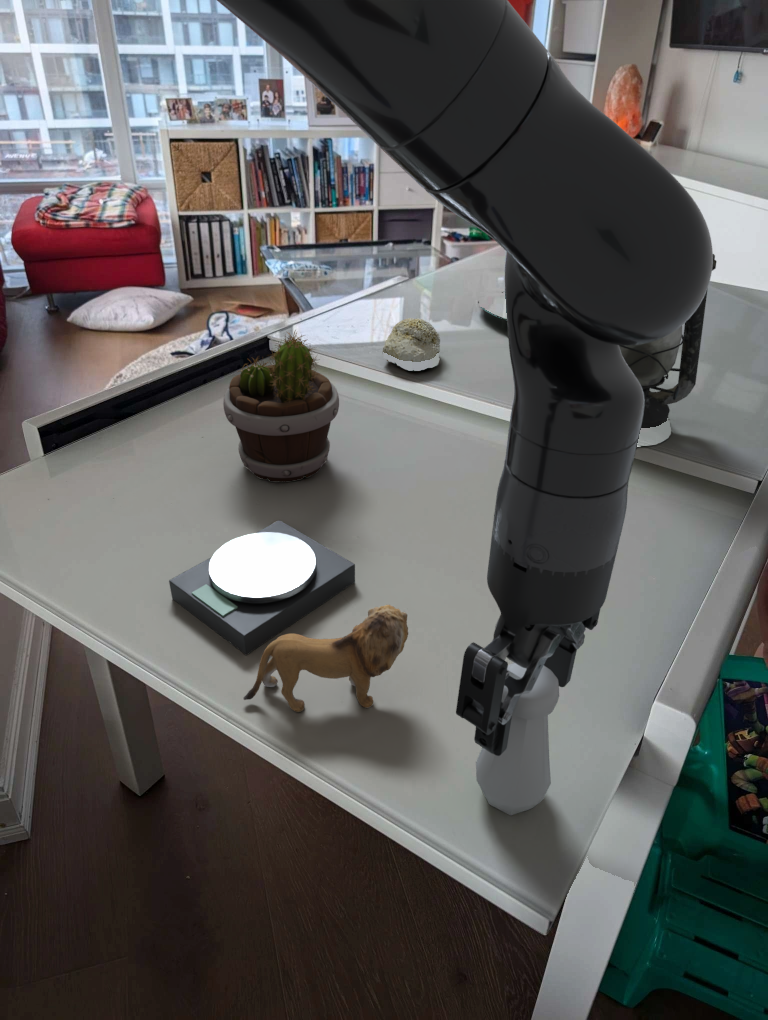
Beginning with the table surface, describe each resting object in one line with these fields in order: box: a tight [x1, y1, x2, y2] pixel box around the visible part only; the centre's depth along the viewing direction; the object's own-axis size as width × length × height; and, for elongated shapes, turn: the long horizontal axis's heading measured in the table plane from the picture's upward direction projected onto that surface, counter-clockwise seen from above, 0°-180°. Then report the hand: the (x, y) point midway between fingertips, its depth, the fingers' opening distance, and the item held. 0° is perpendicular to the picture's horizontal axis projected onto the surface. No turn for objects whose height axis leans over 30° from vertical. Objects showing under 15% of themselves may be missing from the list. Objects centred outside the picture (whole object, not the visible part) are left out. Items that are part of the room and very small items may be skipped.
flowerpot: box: [222, 329, 340, 483], centre depth 96 cm, size 14×15×20 cm
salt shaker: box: [475, 662, 560, 816], centre depth 56 cm, size 6×6×13 cm
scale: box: [168, 519, 356, 656], centre depth 79 cm, size 15×12×3 cm
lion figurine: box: [243, 604, 409, 713], centre depth 66 cm, size 15×5×9 cm, turn 102°
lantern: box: [619, 253, 717, 428], centre depth 107 cm, size 19×19×30 cm
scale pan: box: [208, 532, 317, 604], centre depth 78 cm, size 11×11×1 cm
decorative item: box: [382, 317, 441, 362], centre depth 130 cm, size 12×9×10 cm
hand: (523, 711), depth 55 cm, fingers open, 8 cm apart
